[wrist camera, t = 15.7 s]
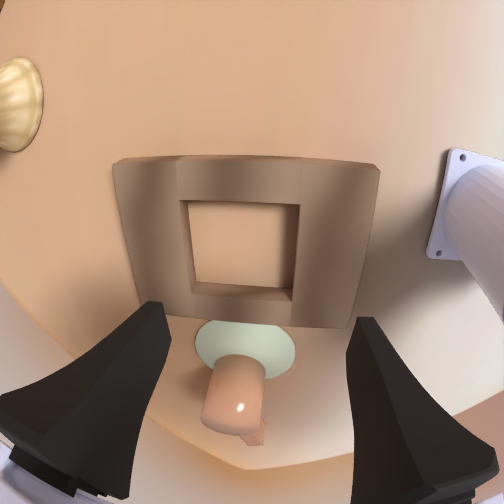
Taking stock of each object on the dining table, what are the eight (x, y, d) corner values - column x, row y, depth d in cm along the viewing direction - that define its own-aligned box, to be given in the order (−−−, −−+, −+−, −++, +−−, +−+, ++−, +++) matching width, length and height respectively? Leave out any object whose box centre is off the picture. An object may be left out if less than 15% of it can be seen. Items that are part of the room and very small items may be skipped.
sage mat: (300, 318, 23) (300, 320, 23) (290, 381, 28) (290, 384, 28) (189, 309, 24) (188, 311, 24) (202, 373, 29) (201, 375, 29)
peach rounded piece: (205, 357, 27) (190, 410, 22) (255, 351, 26) (247, 408, 21) (240, 405, 31) (232, 450, 26) (282, 401, 30) (279, 449, 25)
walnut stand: (373, 164, 17) (380, 171, 15) (344, 315, 23) (346, 328, 22) (123, 158, 18) (112, 164, 17) (150, 300, 24) (143, 311, 23)
